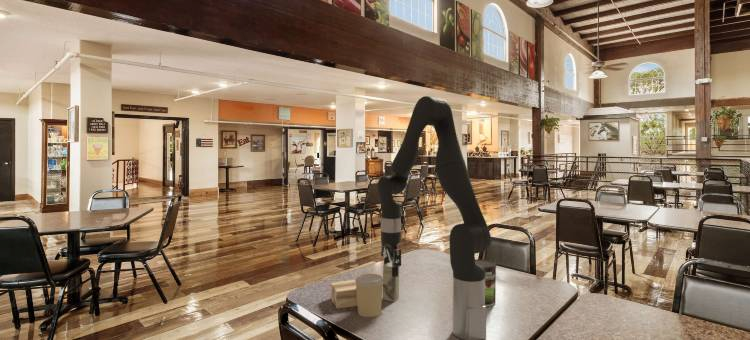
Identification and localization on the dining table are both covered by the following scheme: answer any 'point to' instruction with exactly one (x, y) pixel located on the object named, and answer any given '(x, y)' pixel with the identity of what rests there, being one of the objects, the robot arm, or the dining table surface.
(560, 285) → the dining table surface
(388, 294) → the box
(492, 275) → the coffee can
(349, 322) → the dining table surface
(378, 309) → the coffee cup
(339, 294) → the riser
